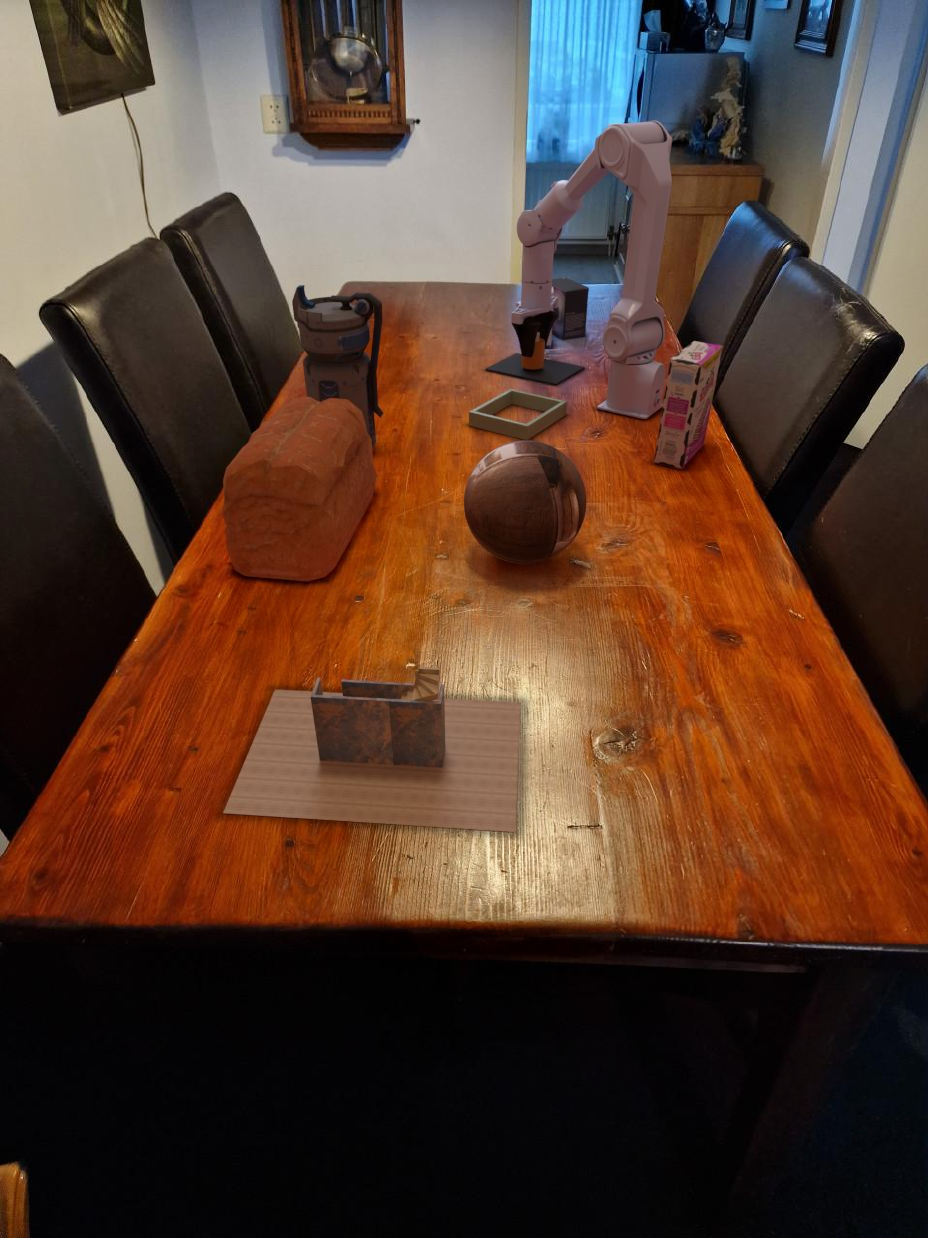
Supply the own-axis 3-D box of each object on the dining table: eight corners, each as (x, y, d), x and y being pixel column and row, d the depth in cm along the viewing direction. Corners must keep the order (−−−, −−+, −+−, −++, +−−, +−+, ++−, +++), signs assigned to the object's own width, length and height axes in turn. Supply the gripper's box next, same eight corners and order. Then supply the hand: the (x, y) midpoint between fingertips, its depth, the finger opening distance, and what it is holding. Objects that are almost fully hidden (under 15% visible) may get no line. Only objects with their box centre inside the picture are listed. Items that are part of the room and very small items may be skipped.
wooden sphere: (447, 538, 108) (446, 431, 99) (550, 519, 112) (557, 414, 104) (490, 597, 97) (492, 481, 88) (602, 573, 101) (615, 461, 92)
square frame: (566, 414, 144) (567, 401, 142) (527, 440, 135) (527, 426, 133) (510, 401, 149) (510, 388, 148) (468, 425, 140) (468, 411, 138)
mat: (584, 368, 164) (584, 366, 164) (555, 385, 156) (555, 383, 156) (516, 354, 172) (516, 352, 171) (485, 370, 163) (485, 368, 163)
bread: (222, 576, 101) (198, 463, 92) (292, 482, 122) (278, 383, 113) (331, 585, 99) (318, 471, 90) (383, 488, 120) (376, 388, 112)
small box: (537, 327, 188) (540, 279, 182) (562, 324, 190) (565, 276, 184) (561, 339, 180) (564, 290, 174) (586, 336, 182) (590, 286, 176)
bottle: (547, 364, 163) (549, 331, 159) (536, 370, 160) (538, 337, 156) (528, 360, 165) (529, 328, 161) (517, 366, 162) (518, 333, 158)
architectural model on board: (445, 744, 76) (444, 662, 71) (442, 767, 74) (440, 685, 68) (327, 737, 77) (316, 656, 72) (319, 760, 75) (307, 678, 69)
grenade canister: (382, 466, 127) (370, 298, 112) (300, 460, 129) (279, 294, 114) (397, 440, 135) (389, 280, 120) (320, 435, 137) (303, 277, 122)
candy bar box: (683, 471, 125) (701, 364, 115) (652, 464, 127) (667, 358, 118) (706, 445, 133) (724, 343, 123) (676, 439, 135) (692, 338, 125)
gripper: (537, 270, 160) (534, 340, 168) (498, 285, 150) (496, 358, 158) (569, 274, 157) (564, 345, 165) (531, 290, 147) (528, 365, 155)
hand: (533, 352), depth 161 cm, fingers closed on bottle, 4 cm apart
